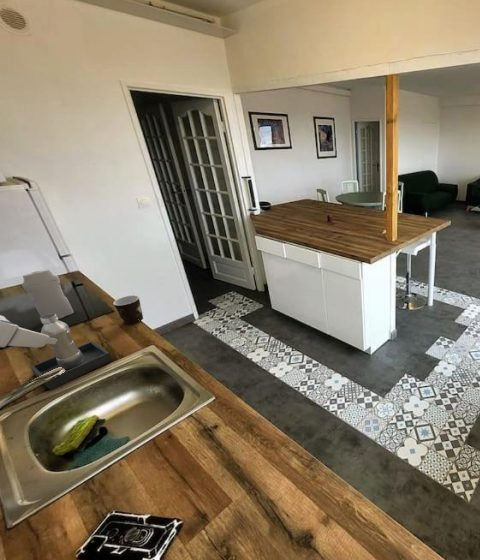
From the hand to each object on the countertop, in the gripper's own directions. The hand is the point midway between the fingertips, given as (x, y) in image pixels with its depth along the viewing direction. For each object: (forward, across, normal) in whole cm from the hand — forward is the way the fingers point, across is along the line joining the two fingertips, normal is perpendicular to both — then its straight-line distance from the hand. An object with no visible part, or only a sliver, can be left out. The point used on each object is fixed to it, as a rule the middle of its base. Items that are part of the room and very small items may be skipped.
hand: (45, 338), depth 99 cm
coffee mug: (+31, -10, +11) cm, 35 cm away
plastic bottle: (+12, 0, -7) cm, 14 cm away
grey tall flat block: (+26, -44, +6) cm, 51 cm away
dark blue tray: (+12, 0, -8) cm, 15 cm away
